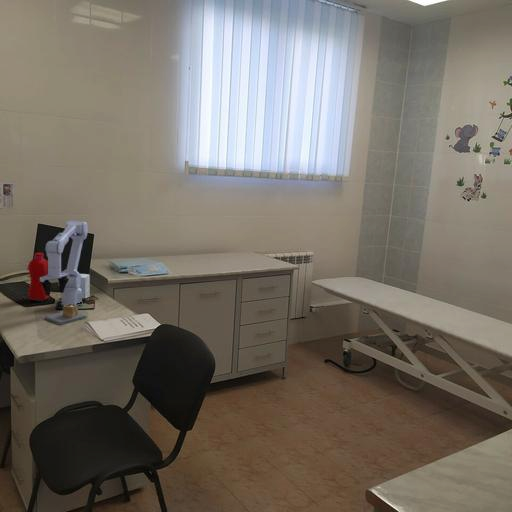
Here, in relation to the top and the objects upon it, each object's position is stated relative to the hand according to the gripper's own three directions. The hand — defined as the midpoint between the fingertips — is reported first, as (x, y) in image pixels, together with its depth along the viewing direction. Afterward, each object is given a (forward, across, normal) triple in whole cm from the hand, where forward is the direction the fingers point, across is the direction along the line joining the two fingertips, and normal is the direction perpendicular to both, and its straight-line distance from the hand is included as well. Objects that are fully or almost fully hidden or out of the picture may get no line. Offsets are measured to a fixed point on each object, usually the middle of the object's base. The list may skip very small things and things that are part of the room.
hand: (54, 293), depth 238 cm
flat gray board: (+10, 0, +8) cm, 13 cm away
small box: (+11, -26, -13) cm, 31 cm away
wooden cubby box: (+9, -2, +9) cm, 13 cm away
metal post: (+10, -2, +9) cm, 14 cm away
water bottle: (+11, -10, -27) cm, 31 cm away
